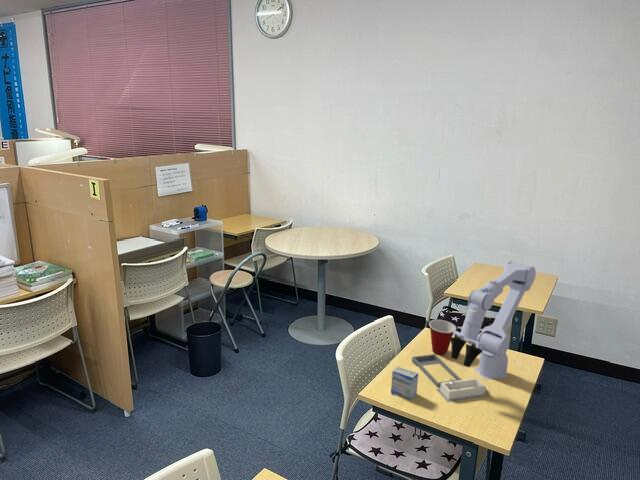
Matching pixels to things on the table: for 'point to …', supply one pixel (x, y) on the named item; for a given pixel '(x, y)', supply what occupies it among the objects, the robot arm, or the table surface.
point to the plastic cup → (441, 335)
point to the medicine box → (404, 383)
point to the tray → (431, 360)
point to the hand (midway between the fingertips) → (460, 362)
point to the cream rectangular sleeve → (463, 388)
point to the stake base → (452, 387)
